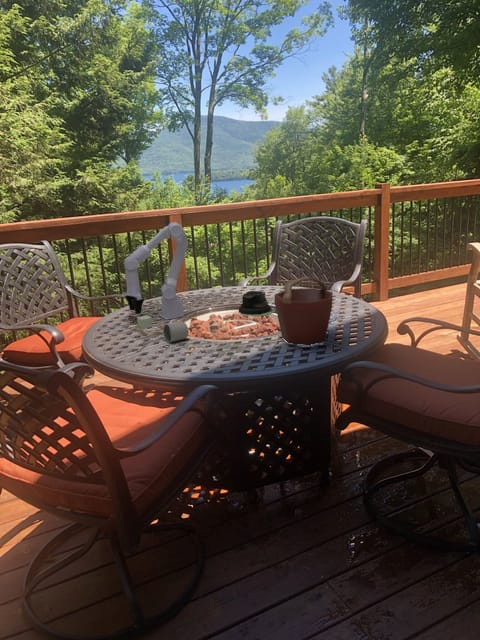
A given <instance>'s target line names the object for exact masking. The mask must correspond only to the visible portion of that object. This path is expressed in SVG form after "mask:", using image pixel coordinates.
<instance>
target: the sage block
mask: <svg viewBox="0 0 480 640" xmlns="http://www.w3.org/2000/svg"><path fill="white" fill-rule="evenodd" d="M136 320H137V327H138V328H139V327H140V328H142V329H144V328H149V327H153V319H152V317H151V316H149V314H147V315H142V316H137V317H136Z"/></svg>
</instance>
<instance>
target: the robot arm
mask: <svg viewBox="0 0 480 640" xmlns="http://www.w3.org/2000/svg"><path fill="white" fill-rule="evenodd" d="M171 237H172V239H173V240H174V241H175V243H176V248H175V251H174V254H173V258H172V260H171V263H170V267H169V270H168V273H167V276H166V278H165V282H163V284H161V287H160V292H161V293H162V294H161V295H162V296H161V297H160V298H161V312H162V314H160V315H159V316H160V318H162V319H164V320H171V319H172V320H173V319H176V318H181V317H185V315H184V304H183V299H182V297H180V296H177V290H176V288H177V286H178V285H177V284H178V279H179V275H180V273H181V268H182V266H183V262H184V259H185V256H186V253H187V250H188V247H189V242H188V238H187V234H186V231H185V230H184V228H183V227H182V225H181V224H180V223H178V222H177V221H173V222H170V223H168V225H166V226H164V227H163V228H162V229H161V230H160V231H159V232H158V233H156V234H155V235H154V236H153V237H152V238H151V239H150V241H148V242H147V244H145V245H144V244H141V245H138V246H136V250H134V251H133V252H132V253H129V255H128V256H127V257H126V258H125V259H124V262H123V264H124V268H125V271H124V272H125V283H126V284H125V285H126V293H124V298H125V300H126V302H127V304H128V307H129V309H130V311H134V312H135V314H136V315H139V314H142V309H143V303H144V301H145V298H142V295H141V293H142V292H141V289H140V279H139V278H140V277H139V272H138V267H139V265H141V264H142V263H143V262H144V261H145V260H146V259H148V257H149V256H151V252H152V250H153V249H154V248H155V247H156V246H158V245H159V244H160V243H161V242H163V240H167V239H171Z"/></svg>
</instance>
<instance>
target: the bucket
mask: <svg viewBox="0 0 480 640" xmlns="http://www.w3.org/2000/svg"><path fill="white" fill-rule="evenodd" d="M309 280H311V281H313V282H315V283H317V284H318V285H319V286H320V288H315V287H309V288H293V286H295V285H297V284H298V283H301V282H303V281H309ZM283 286H284V287H283V288H284V290H283V291H280V292H277V293H275V294H274V305H275V310H276V311H275V312H276V315H277V319H278V325H279V329H280V334H281V337H283V338H284V339H285V340H286V341H287V342H288V343H293V344H306V345H311V344H315V343H319V342H324V341H325V342H326V338H327V337H326V336H327V333H328V329H329V323H330V319H331V313H332V308H333V291H330V290H329V291H328V286H327V285H326V283H325V282H324V281H321V280H319V279H317V278H313V277H309V276H308V277H307V276H304V277H299V278H295V279H293V280H290V281H289V282H286V283H285V284H284V285H283Z"/></svg>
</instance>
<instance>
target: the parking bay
mask: <svg viewBox="0 0 480 640" xmlns="http://www.w3.org/2000/svg"><path fill="white" fill-rule="evenodd" d="M156 327H158V328H159V329H160V330H158V331H153V332H148V331H146V330H144V328H141V327H139V326H138V327H137V330H138V332H140V333H141V334H142V335H144V336H145V337H147V338H151V337H155V336H159V335H164V332H163V329H164V325H163V324H161V323H157V324H156Z"/></svg>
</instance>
